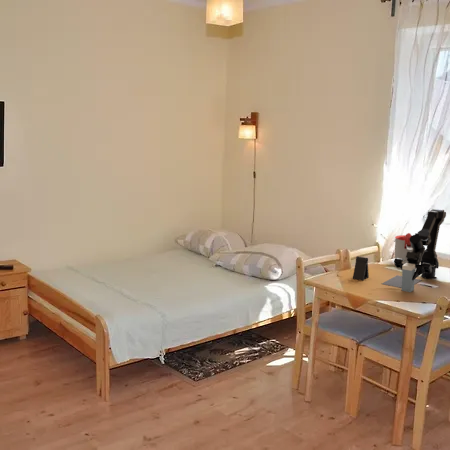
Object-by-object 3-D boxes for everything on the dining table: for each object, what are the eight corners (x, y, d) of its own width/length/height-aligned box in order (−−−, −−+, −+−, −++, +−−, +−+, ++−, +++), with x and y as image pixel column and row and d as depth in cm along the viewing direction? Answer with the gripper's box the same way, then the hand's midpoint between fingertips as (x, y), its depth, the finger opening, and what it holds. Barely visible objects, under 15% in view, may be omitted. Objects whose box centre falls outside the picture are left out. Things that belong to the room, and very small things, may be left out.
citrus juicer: (394, 267, 329) (397, 235, 325) (391, 260, 346) (394, 229, 342) (422, 269, 326) (424, 236, 322) (417, 262, 343) (420, 231, 339)
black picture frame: (362, 280, 301) (364, 259, 299) (352, 278, 304) (353, 258, 302) (368, 277, 308) (370, 256, 306) (358, 275, 312) (359, 254, 309)
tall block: (404, 287, 287) (405, 262, 284) (413, 289, 285) (415, 264, 281) (401, 290, 284) (402, 265, 280) (410, 292, 281) (411, 267, 277)
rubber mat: (397, 275, 312) (397, 275, 311) (421, 280, 303) (421, 279, 303) (381, 284, 295) (381, 283, 295) (407, 289, 286) (407, 288, 286)
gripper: (396, 243, 289) (386, 267, 282) (432, 248, 277) (422, 273, 271) (401, 254, 296) (391, 278, 290) (436, 260, 285) (426, 285, 278)
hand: (407, 279), depth 282 cm, fingers closed on tall block, 5 cm apart
